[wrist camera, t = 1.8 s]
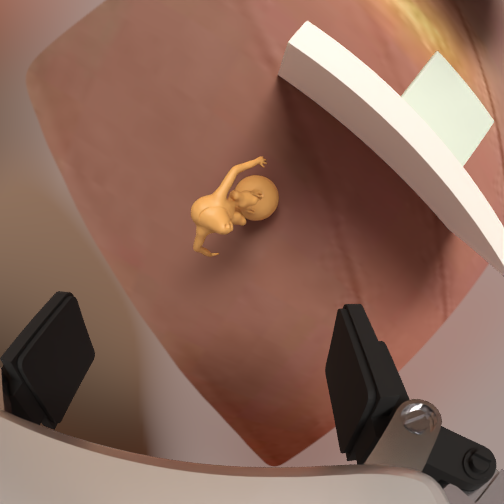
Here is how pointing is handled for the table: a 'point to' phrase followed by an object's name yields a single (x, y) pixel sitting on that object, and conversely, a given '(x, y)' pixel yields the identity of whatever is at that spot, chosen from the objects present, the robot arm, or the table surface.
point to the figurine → (233, 204)
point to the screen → (393, 136)
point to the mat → (449, 107)
